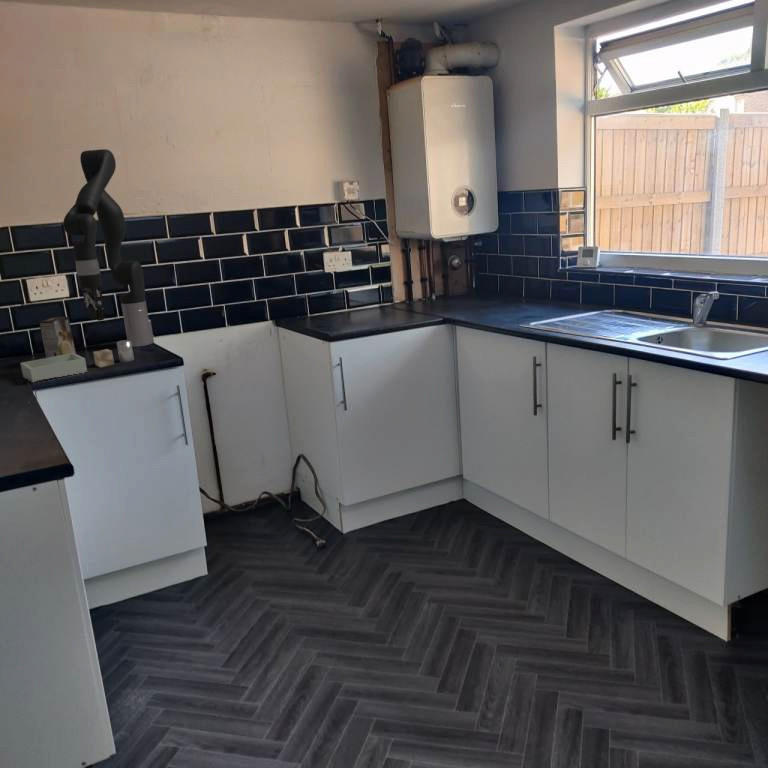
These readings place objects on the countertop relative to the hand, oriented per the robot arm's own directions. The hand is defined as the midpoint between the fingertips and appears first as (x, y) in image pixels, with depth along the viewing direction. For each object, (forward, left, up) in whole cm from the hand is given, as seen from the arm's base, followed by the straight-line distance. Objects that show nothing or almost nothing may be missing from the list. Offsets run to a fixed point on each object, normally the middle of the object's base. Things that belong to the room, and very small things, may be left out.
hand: (96, 319), depth 255 cm
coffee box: (+9, -21, -17) cm, 28 cm away
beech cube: (0, 0, -17) cm, 17 cm away
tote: (+17, 0, -17) cm, 24 cm away
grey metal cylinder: (-8, 0, -17) cm, 18 cm away
